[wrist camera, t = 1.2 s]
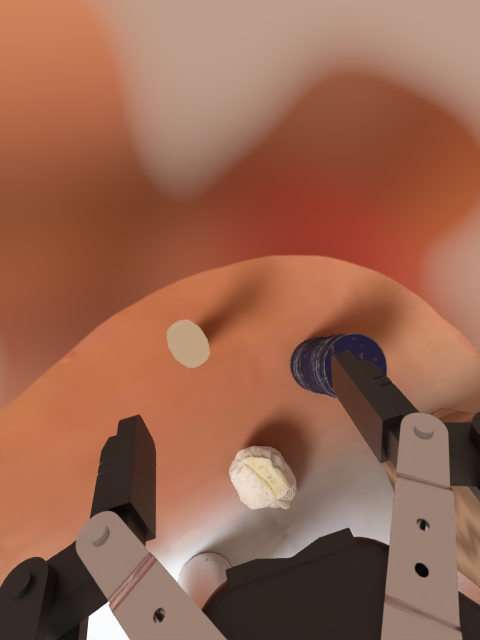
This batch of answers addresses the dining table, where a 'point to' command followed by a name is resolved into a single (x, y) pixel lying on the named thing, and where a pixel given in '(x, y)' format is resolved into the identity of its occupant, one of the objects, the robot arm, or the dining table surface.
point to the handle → (188, 343)
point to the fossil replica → (263, 478)
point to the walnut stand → (459, 511)
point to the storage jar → (316, 354)
